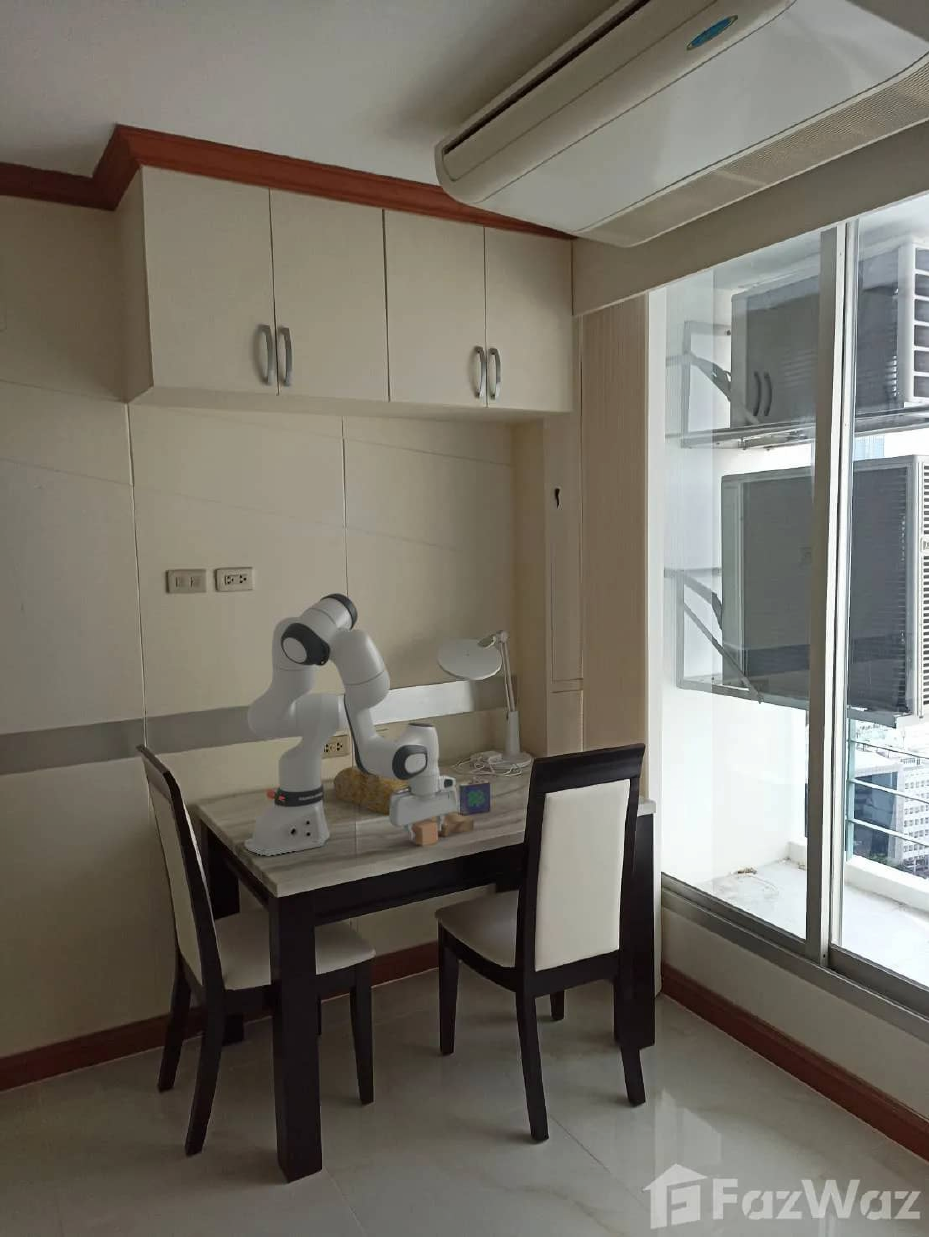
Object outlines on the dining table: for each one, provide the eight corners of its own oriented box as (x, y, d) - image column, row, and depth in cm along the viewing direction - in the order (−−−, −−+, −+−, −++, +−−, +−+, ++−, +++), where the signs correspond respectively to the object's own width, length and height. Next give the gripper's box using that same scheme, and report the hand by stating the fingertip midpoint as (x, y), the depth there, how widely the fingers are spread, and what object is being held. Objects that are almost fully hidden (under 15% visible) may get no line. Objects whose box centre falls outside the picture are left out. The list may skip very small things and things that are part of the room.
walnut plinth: (445, 836, 246) (444, 827, 246) (422, 828, 254) (422, 818, 253) (473, 828, 252) (473, 818, 252) (450, 819, 260) (450, 810, 260)
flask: (461, 816, 263) (460, 779, 262) (458, 813, 266) (457, 777, 264) (491, 812, 266) (491, 776, 265) (488, 809, 268) (487, 773, 267)
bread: (425, 810, 270) (424, 776, 269) (396, 818, 263) (395, 784, 262) (353, 786, 297) (352, 756, 296) (325, 793, 289) (323, 762, 288)
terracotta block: (422, 846, 239) (422, 827, 239) (411, 841, 243) (410, 823, 243) (438, 841, 242) (437, 823, 242) (426, 837, 246) (426, 819, 246)
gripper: (397, 794, 232) (399, 847, 234) (460, 778, 245) (461, 828, 247) (383, 789, 237) (385, 841, 238) (445, 773, 250) (447, 823, 251)
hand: (424, 835), depth 243 cm, fingers open, 7 cm apart
